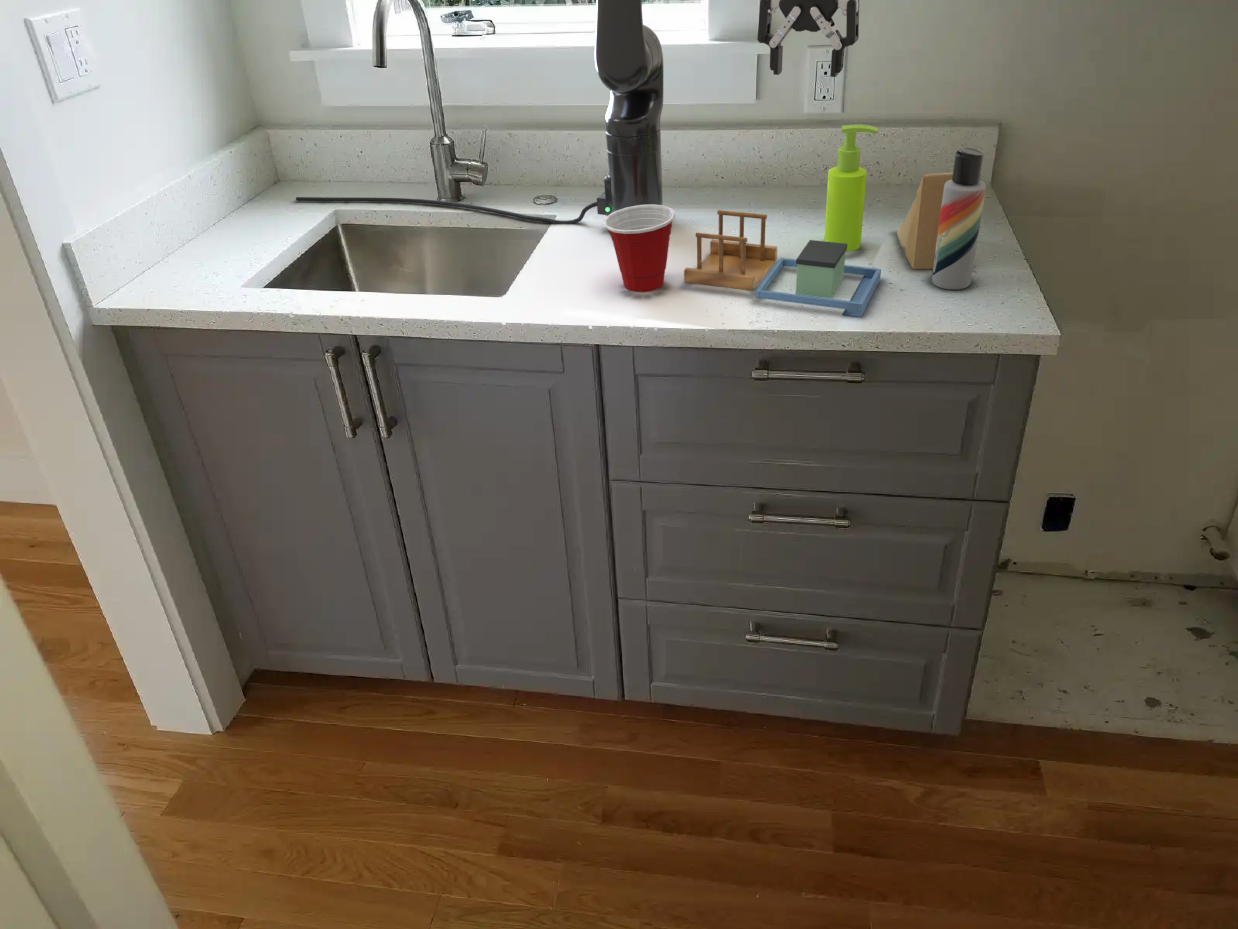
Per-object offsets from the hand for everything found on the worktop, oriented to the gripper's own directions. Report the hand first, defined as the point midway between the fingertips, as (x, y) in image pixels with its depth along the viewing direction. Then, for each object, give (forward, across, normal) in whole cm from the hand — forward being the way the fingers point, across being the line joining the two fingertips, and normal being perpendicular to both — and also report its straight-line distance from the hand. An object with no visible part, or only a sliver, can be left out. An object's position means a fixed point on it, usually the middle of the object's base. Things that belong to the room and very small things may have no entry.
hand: (805, 74), depth 144 cm
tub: (+28, -7, +13) cm, 31 cm away
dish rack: (+28, +8, +11) cm, 31 cm away
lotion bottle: (+28, -25, +4) cm, 38 cm away
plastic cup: (+28, +19, +20) cm, 40 cm away
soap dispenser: (+28, -7, -4) cm, 29 cm away
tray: (+28, -7, +13) cm, 32 cm away
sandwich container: (+28, -20, -8) cm, 36 cm away
